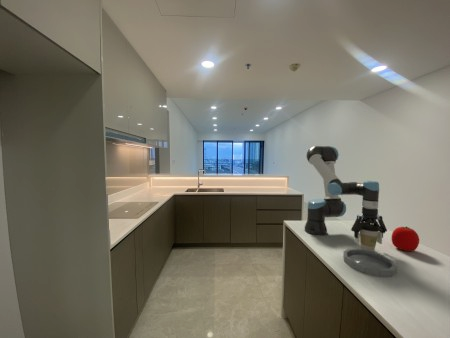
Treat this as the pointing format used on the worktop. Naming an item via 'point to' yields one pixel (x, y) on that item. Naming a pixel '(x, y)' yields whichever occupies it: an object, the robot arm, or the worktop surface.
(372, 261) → the tray
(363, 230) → the coffee cup
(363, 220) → the robot arm
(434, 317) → the worktop surface
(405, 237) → the tomato
